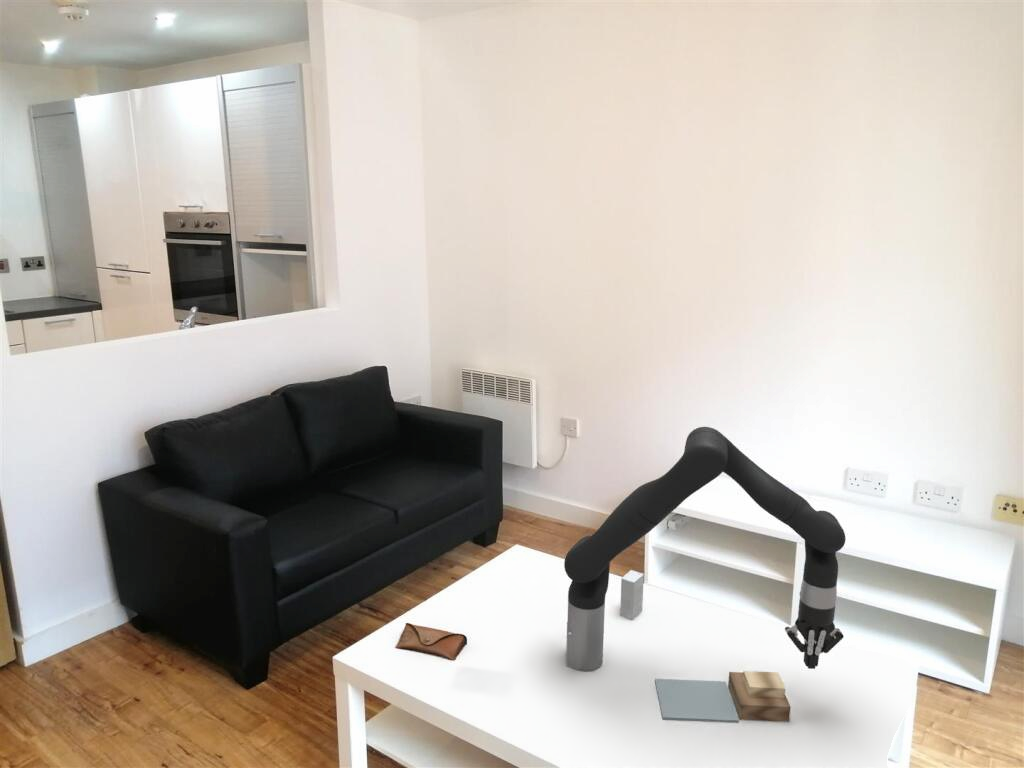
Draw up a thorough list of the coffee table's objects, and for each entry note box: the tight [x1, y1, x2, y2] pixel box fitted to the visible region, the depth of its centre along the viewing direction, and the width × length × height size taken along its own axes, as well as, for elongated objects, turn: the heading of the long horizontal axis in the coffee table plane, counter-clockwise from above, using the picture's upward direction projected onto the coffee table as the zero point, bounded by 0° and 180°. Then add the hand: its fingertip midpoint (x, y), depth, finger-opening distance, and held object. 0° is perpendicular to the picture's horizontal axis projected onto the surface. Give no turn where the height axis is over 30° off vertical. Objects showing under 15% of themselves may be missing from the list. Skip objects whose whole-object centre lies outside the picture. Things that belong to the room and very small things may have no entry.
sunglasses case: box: [394, 622, 468, 661], centre depth 198 cm, size 18×7×7 cm, turn 72°
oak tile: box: [743, 670, 786, 698], centre depth 175 cm, size 8×6×2 cm
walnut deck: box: [727, 671, 792, 723], centre depth 175 cm, size 11×12×4 cm
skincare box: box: [619, 569, 645, 621], centre depth 212 cm, size 6×4×12 cm
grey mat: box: [654, 678, 740, 724], centre depth 177 cm, size 17×14×1 cm
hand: (810, 666), depth 173 cm, fingers closed
